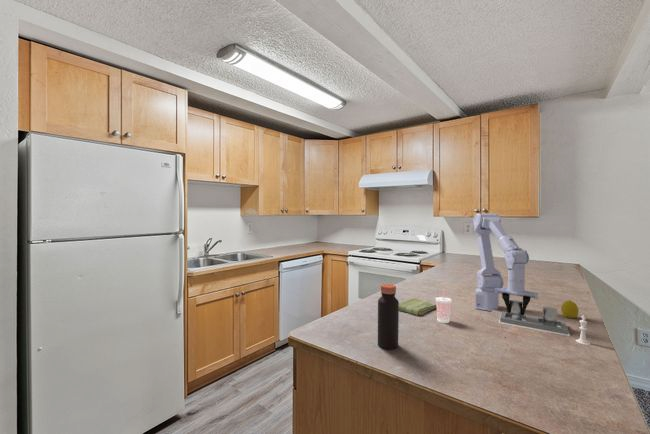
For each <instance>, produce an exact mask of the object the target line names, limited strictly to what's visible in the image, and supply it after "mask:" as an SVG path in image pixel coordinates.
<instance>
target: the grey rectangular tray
mask: <svg viewBox="0 0 650 434" xmlns="http://www.w3.org/2000/svg"><path fill="white" fill-rule="evenodd" d="M497 323H498V324H503V325H509V326H513V327H517V328H518V327H519V328H524V329H530V330H535V331H539V332H546V333H551V334H556V335H562V336H565V337H566V336H567V337H571V334H570V331H569V329H568V326H567V323H566V321H562V320H559V319H557V327H554V326H549V325H543V317H539V316H535V315H534V316H533V315H528V314H524V316H523V315H522V320H521V321H520V320H515V319H510V318H509V313H507V311H503V310H502V311H501V313H500V315H499V320H498V322H497Z"/></svg>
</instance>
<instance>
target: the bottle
mask: <svg viewBox="0 0 650 434" xmlns="http://www.w3.org/2000/svg"><path fill="white" fill-rule="evenodd" d="M396 293H397V286H396V285H394V284H390V283H383V284H381V285H380V294H381V296H380V297H379V298H378V300H377V346H378V347H380V348H381V349H383V350H394V349H397V348H398V347H399V326H400V325H399V314H400V312H399V303H400V302H399V300H398V299H397V298H396V295H397V294H396Z"/></svg>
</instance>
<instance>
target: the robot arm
mask: <svg viewBox="0 0 650 434" xmlns="http://www.w3.org/2000/svg"><path fill="white" fill-rule="evenodd" d="M501 222H502V217H500V215H499V214H498V213H479V212H478V213H475V215H474V217H473V219H472V223H473V229H474V232H475V233H476V238H477V245H478V250H479V251H478V252H479V256H480V265H481V269H479V271H477V272H476V285H477V287H476V289H475V301H474V303H475V304H474V306H475V307H474V308H475V309H477V310H482V311H487V312H493V310H499V306H500V305H499V304H500V303H499V302H500V300H499V299H500V298H499V297H500V295H499V294H501V297H502V300H503V302H504V305H505V307H506V312H507V313H509V311H510V310H509V301H510V298H511V297H510V296H515V297H516V296H517V297H522V315H523V316H524V315H525V313H526V308H527V307H528V305H529V303H530V302H531V298H532V299H535V300H539V293H538V292H533V291H528V290H525V286H526V285H525V281H526V276H525V275H526V265H527V264H528V263H529V261H530V256H529V253H528V251H527V250H526V249H523V248H522V247H520V246H519V245H518V244H517V242H516V241H515V239H514V237H512V236H511V235H507V233H506V230H505V229H504V227H503V225H502V224H501ZM491 233H493V234H494V235H495V237H496V238H497V239H498V241H497V242H498V245H499V247H500V249H502V251H503V253H504V260H505V263H506V268H507V287H505V288H504V285H505V282H504V278H503V275H502V274H501V271H499V270H498V268H496V267H495V261H494V255H493V250H492V249H493V248H492V244H491V243H492V242H491V238H490V237H491V236H490V234H491Z"/></svg>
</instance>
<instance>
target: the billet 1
mask: <svg viewBox="0 0 650 434" xmlns="http://www.w3.org/2000/svg"><path fill="white" fill-rule="evenodd" d="M522 308H523V301H521V300H516V299H509V310H510V311H509V318H510V319H515V320H520V321H521V320H522Z"/></svg>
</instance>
